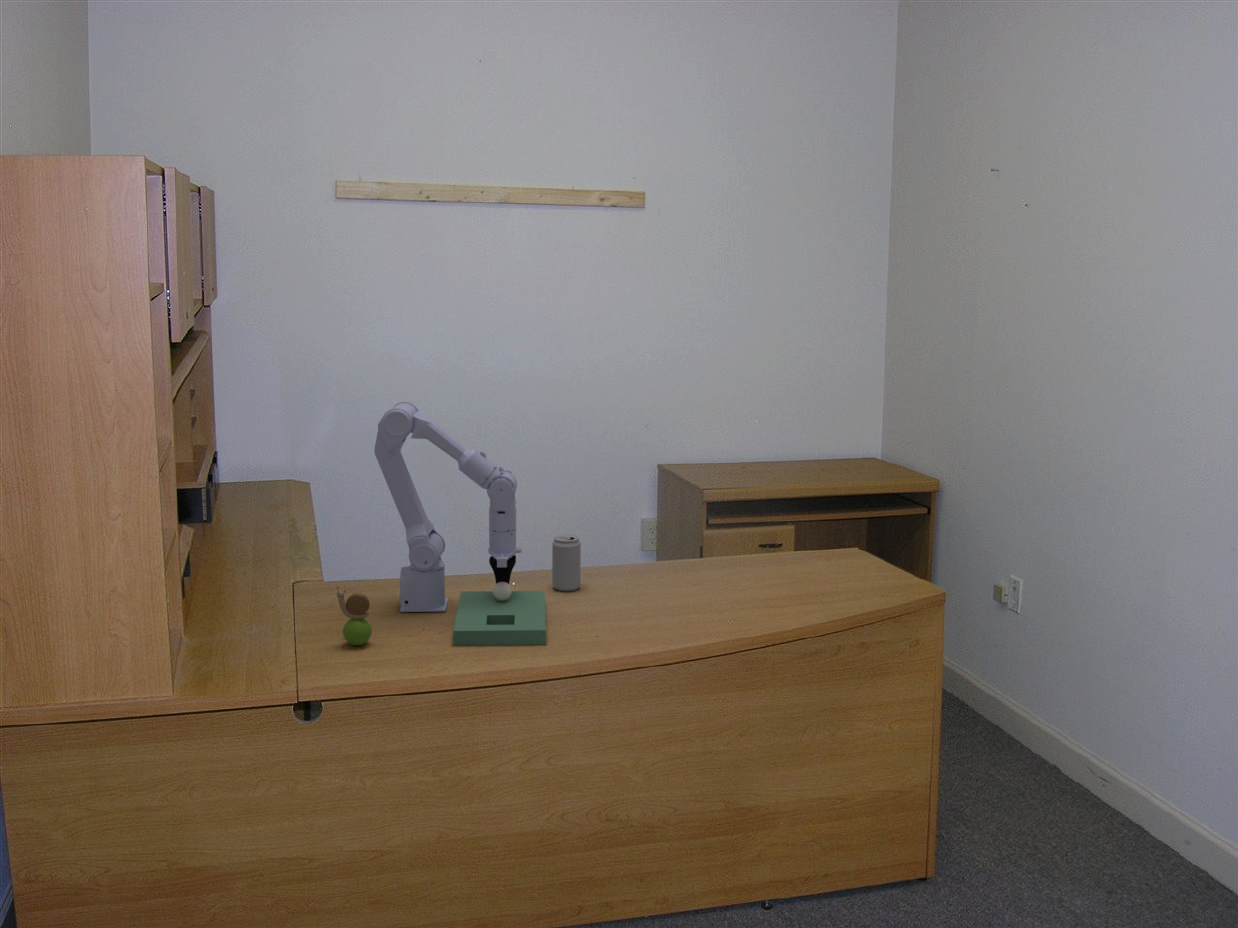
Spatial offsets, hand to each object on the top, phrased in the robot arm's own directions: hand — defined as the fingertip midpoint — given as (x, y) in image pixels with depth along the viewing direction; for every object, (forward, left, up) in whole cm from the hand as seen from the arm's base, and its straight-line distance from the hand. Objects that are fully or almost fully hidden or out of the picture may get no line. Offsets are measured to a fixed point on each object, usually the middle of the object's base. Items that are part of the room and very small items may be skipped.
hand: (502, 589), depth 235 cm
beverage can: (+14, +13, -4) cm, 20 cm away
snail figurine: (-28, -21, -4) cm, 35 cm away
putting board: (0, -10, -4) cm, 11 cm away
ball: (0, -4, +1) cm, 4 cm away
